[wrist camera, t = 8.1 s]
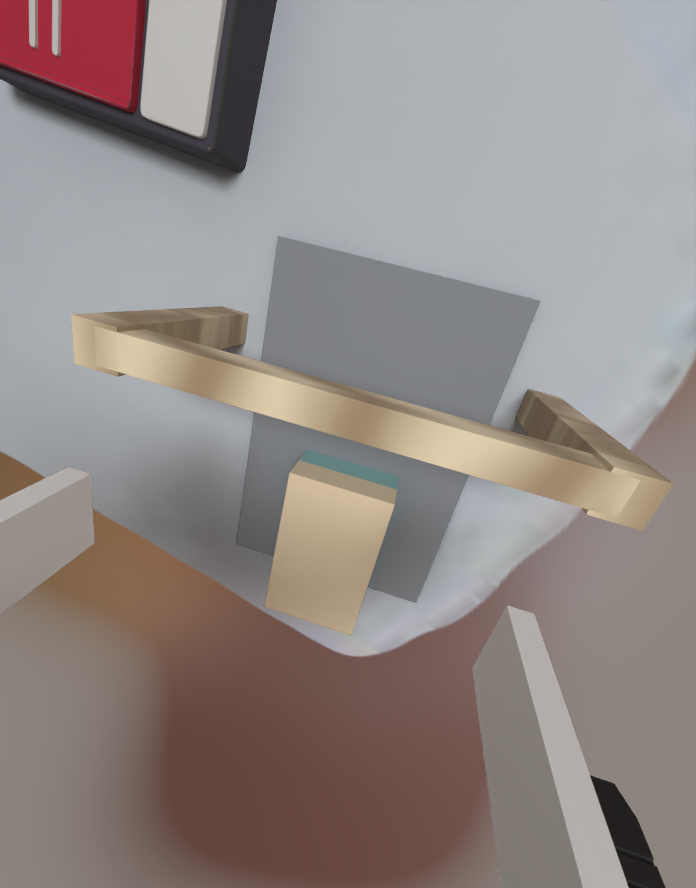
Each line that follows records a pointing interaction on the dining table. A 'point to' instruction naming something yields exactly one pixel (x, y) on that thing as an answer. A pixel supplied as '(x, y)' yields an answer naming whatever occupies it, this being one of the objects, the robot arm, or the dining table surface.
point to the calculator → (146, 66)
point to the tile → (329, 539)
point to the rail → (377, 412)
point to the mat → (380, 385)
